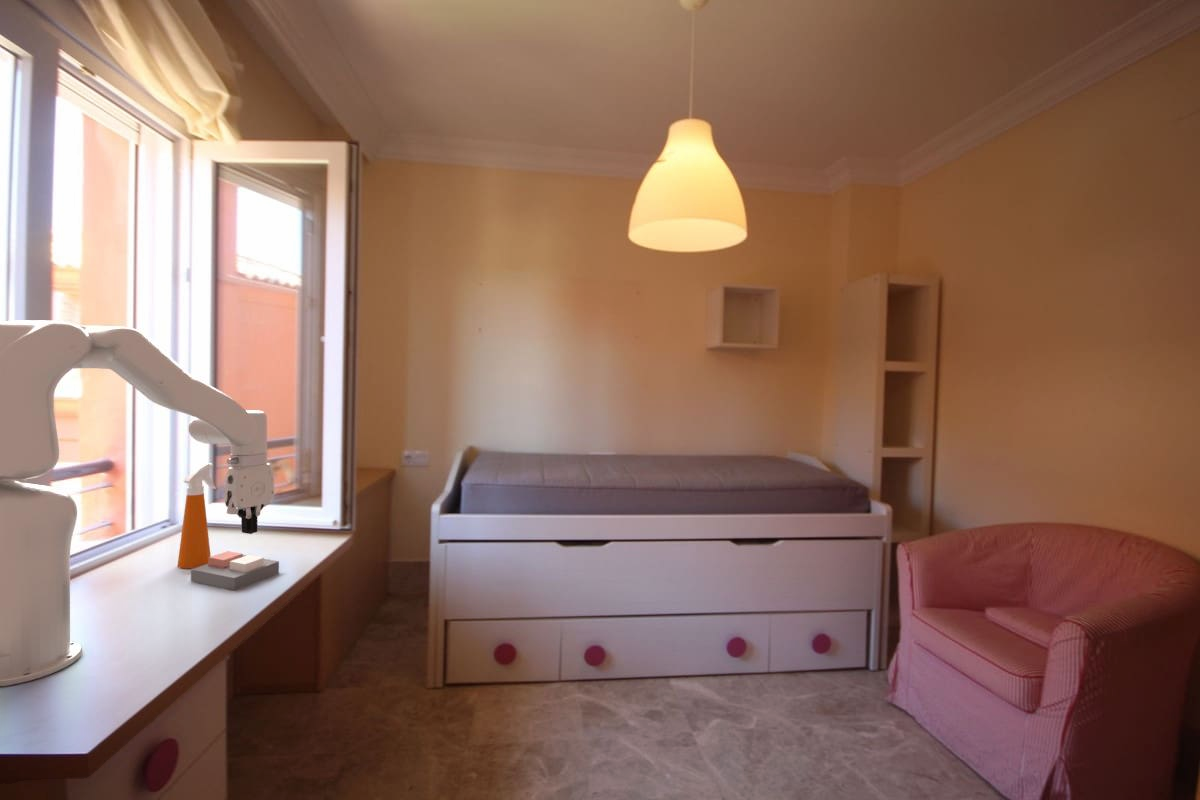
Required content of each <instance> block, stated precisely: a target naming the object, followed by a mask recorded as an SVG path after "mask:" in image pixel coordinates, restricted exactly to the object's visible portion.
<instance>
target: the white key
mask: <svg viewBox="0 0 1200 800" xmlns="http://www.w3.org/2000/svg"><path fill="white" fill-rule="evenodd" d="M264 559H265V558H264V557H263V556H258V555H257V556H256V555H251V554H247V556H244V557H241V558H238V559H235V560H232V561H230V570H233V571H238V572H243V573H246V572H249V571H251V570H254V569H257V568H259V567H262V566H264Z"/></svg>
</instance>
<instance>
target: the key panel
mask: <svg viewBox="0 0 1200 800" xmlns="http://www.w3.org/2000/svg"><path fill="white" fill-rule="evenodd" d="M247 555H248V554H247ZM247 555H246V554H243V557H244V556H247ZM279 568H280V561H278V560H274V559H268V558H264V566H262V567H259V568H257V569H254V570H251V571H249V572H246V573H243V572H238V571H233V570H230V567H227V568H224V569H222V568H217V567H212V566H209V563H208V564H206V565H203V566H200V567H197V568H190V582H192V583H197V584H201V585H207V586H211V587H216V588H221V589H225V590H230V591H237V590H239V589H242V588H244V587H246V586H249V585H251V584H254V583H256V582H259V581H261V580H264V579H266V578H269V577H272V576H275V575H276V574H279V573H280V572H279V571H280V569H279Z"/></svg>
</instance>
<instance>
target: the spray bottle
mask: <svg viewBox="0 0 1200 800" xmlns="http://www.w3.org/2000/svg"><path fill="white" fill-rule="evenodd" d="M213 467H214V464H213V463H212V462H209V463H203V464H201V465H200V466H199V467H197V468H196V469H194V470H193V471H192V472H190V473H189V474H188V475H187V476H186V477H185V478H184V480H183V482H184V483H185V484H188V485H187V487H186V498H185V504H184V513H183V519H182V529H181V535H180V542H179V543H180V544H179V550H178V551H179V552H178V557H177V558H178V559H177V568H178V569H179V568H180V569H184V570H185V569H187V570H188V569H189V570H190V569H194V568H197V567H200V566H203V565H206V564H209V557H211V548H210V537H209V530H208V521H207V520H208V519H207V511H206V510H207V509H206V503H205V502H206V499H205V492H204V491H205V490H204V489H205V488H204V487H205V486H204V485H203V482H204V483H205V484H206V485H207V486H208V487H209V488H211V489H214V490H217V487H216V486H215V484H214V483H213V481H212V479H211V476H210V474H211V469H212V468H213Z"/></svg>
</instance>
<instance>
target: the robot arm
mask: <svg viewBox="0 0 1200 800" xmlns="http://www.w3.org/2000/svg"><path fill="white" fill-rule="evenodd" d="M73 369H101V370H102V369H105V370H107V369H108V370H111V371H112V372H114V373H115V374H117V376H119V377H120V378H122V379H123V380H124V381H126V383H128V384H129V385H131V386H132V387H133V388H134V389H136V390H137V391H138V392H139V393H140V394H142V395H143V396H144V397H146V398H147V399H148V401H151V402H152V403H154V404H156V405H158V406H160V407H161V406H162V407H163V408H166V409H168V410H171V411H175V412H179V413H183V414H186V415H189V416H191V417H193V418H192V419H191V421H190V422H189V424H188V433H189V436H191V437H192V439H194V440H195V441H196V442H199V443H203V444H205V445H206V444H209V445H220V446H230V457H229V458H228V459H226V464H227V465H230V467H228V468H227V473H226V478H225V486H224V502H225V503H224V504H225V507H227V510H226V514H228V515H237V516H238V517H239V518H240V519H241V525H240V526H241V533H243V534H249V535H252V534H254V533H257V532H258V517H259V516H260V515H261V512H262V510H263V508H265V507H267V506H268V505H270V504H271V502H272V501H273V500H274V499H275V482H274V474H273V471H272V465H271V464H270V463H269V462H268V418H267V414H266V412H264V411H262V410H256V409H255V410H250V409H249V410H246V409H245V408H244V407H243V406H242V405H240V403H238V402H237V401H236V400H235V399H233V398H232V397H230V396H229V395H228V394H225V393H224V392H223V391H221V390H218V389H217V388H216V387H213V386H212V385H210V384H208V383H206V382H204V381H202V380H200V379H198V378H197V377H194V376H193V375H191V374H190V373H189V372H188V371H186V369H184V368H183V367H182V366H181V365H180V364H179V363H177V362H176V361H175V360H174V359H173V358H172V357H171V356H170V355H169V354H168V353H166V352H165V351H164V350H163V349H162V348H161V347H160V346H159V345H158V344H156V342H154V340H152V339H151V338H150V337H149V336H148V335H146V334H145V333H143V332H142V331H140V330H138V329H135V328H132V327H127V326H108V325H107V326H105V325H104V326H103V325H76V324H73V323H69V322H65V321H57V320H8V321H4V322H0V687H5V686H12V685H18V684H21V683H27V682H31V681H34V680H37V679H41V678H43V677H47V676H49V675H52V674H54V673H56V672H59V671H60V670H63V669H64V668H67V667H69V666H71V665H72V664H73V663H75V662H76V661H77V660H79V659H80V658H81V656H82V655H83V645H82V644H81V643H78V642H76V641H71V545H72V539H73V534H74V531H75V527H76V525H77V524H76V523H77V518H78V508H77V505H76V502H75V501H74V499H73V498H72V496H71V495H69V494H68V493H67V492H65V491H63V490H61V489H59V488H57V487H53V486H49V485H43V484H35V483H28V482H27V480H28V479H29V480H30V479H35V478H39V477H42V476H44V475H46V474H48V473H49V472H50V471H52V470H53V469H54V468H55V466H56V465H57V463H58V462H59V457H60V445H59V438H58V437H59V436H58V431H57V424H56V415H55V414H56V413H55V407H54V403H55V402H54V401H55V400H54V399H55V398H54V397H55V392H56V388H57V386H58V384H59V382H60V381H61V380H62V379H63V378H64V376H66V374H68V373H69V372H70V371H72V370H73Z"/></svg>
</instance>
